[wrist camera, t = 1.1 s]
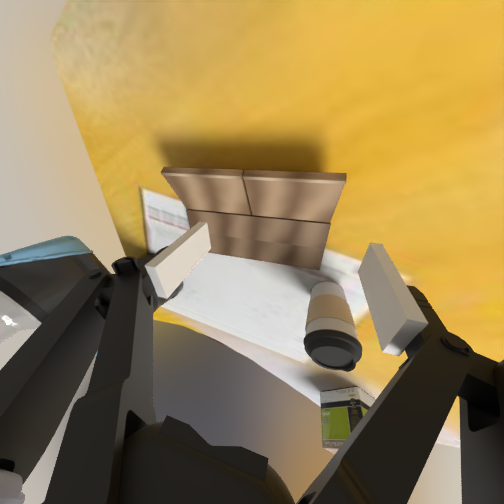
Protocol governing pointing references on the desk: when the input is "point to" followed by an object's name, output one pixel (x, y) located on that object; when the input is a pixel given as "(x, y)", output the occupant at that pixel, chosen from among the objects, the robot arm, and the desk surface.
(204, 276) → the desk surface
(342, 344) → the coffee cup
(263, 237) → the laid board
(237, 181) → the plank far
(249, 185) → the plank near
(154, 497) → the robot arm
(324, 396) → the tea box
